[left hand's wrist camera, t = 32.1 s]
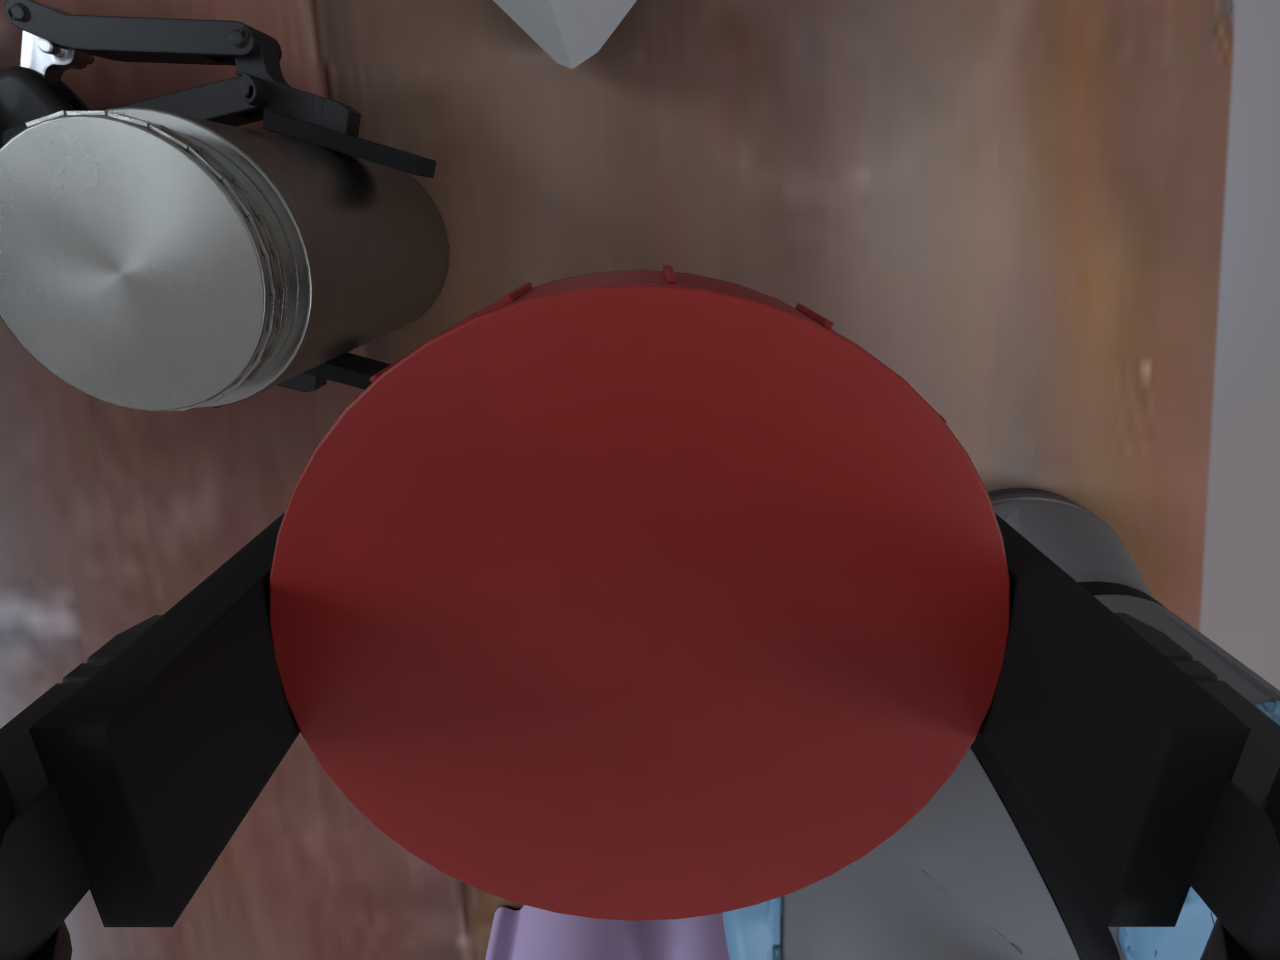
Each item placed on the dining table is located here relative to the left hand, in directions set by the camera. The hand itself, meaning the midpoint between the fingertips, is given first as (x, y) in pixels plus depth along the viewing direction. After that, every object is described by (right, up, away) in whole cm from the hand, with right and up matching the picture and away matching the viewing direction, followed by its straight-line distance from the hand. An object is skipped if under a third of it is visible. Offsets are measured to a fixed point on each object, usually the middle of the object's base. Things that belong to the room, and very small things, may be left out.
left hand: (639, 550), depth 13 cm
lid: (0, -1, -3) cm, 3 cm away
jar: (-15, +14, +25) cm, 33 cm away
